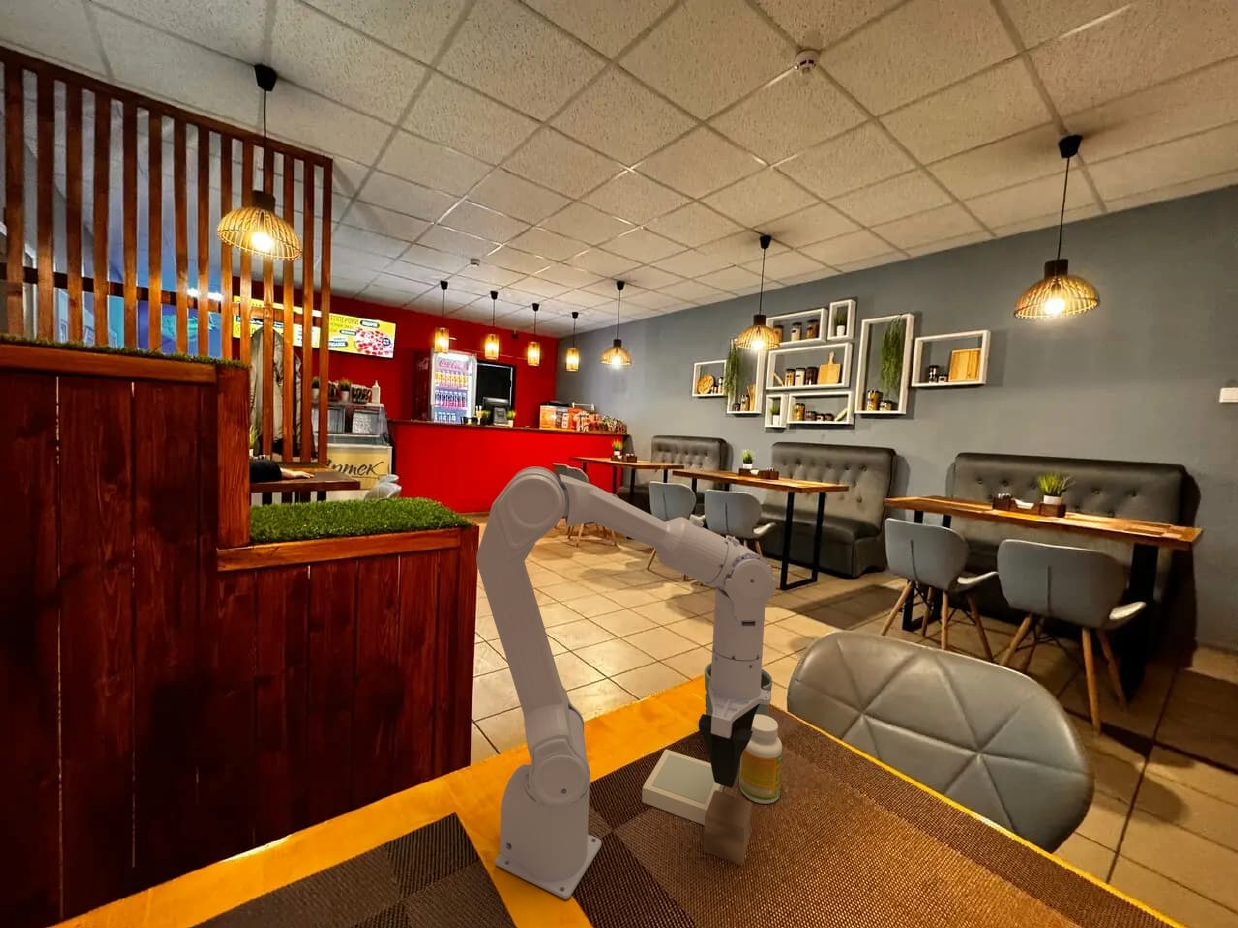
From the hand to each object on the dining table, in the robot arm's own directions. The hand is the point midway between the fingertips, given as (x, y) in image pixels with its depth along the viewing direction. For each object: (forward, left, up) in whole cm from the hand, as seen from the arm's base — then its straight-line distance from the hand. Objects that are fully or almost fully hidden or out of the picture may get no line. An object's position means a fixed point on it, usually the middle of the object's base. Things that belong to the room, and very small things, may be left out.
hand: (731, 763), depth 58 cm
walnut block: (0, 0, -10) cm, 10 cm away
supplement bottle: (+2, +11, -10) cm, 15 cm away
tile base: (-7, +6, -10) cm, 14 cm away
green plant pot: (-3, +19, -10) cm, 22 cm away
